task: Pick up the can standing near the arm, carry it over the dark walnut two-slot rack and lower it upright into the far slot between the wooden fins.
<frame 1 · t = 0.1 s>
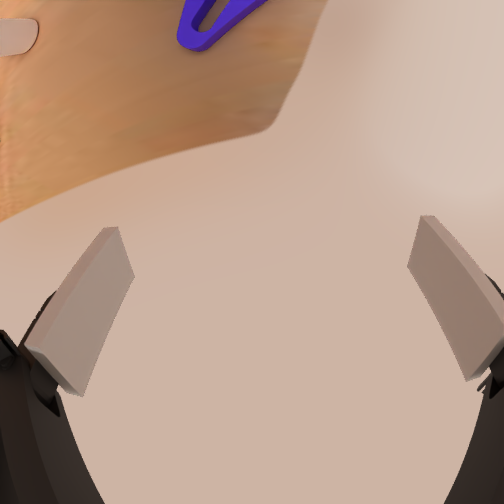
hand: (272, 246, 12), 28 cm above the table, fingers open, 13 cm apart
can: (27, 36, 23), on the table
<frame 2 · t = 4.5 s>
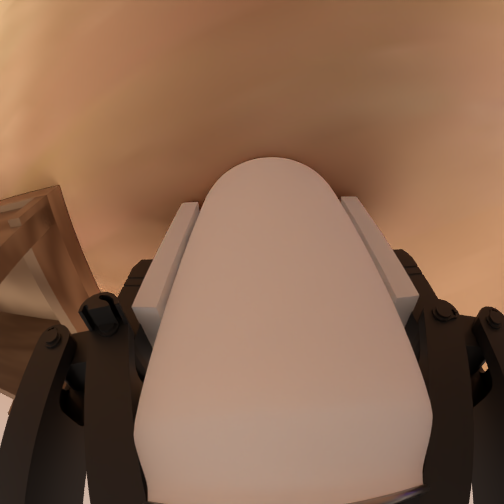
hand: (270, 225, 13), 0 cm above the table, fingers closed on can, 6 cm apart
rack: (39, 311, 18), on the table
can: (270, 218, 14), on the table, touching gripper
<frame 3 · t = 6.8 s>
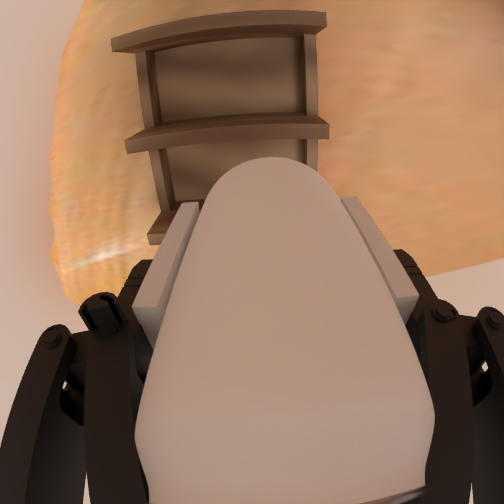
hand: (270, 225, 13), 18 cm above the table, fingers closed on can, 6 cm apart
rack: (232, 118, 27), on the table
can: (271, 218, 14), point 17 cm above the table, touching gripper
when the fingers open (3 cm above the table, at t = 9.5 s): can drops 1 cm, resting on rack.
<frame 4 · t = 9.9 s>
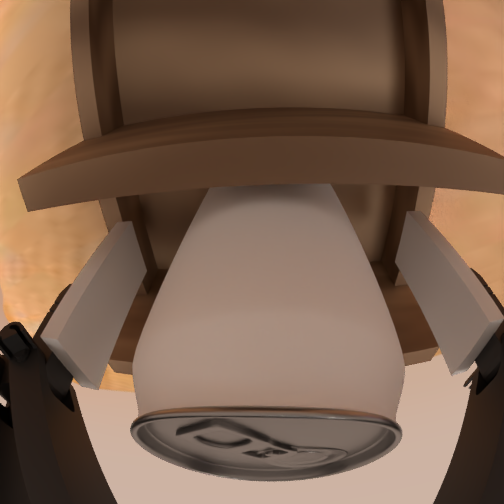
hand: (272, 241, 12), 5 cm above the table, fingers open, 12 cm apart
rack: (265, 116, 13), on the table
can: (271, 205, 15), point 1 cm above the table, touching rack
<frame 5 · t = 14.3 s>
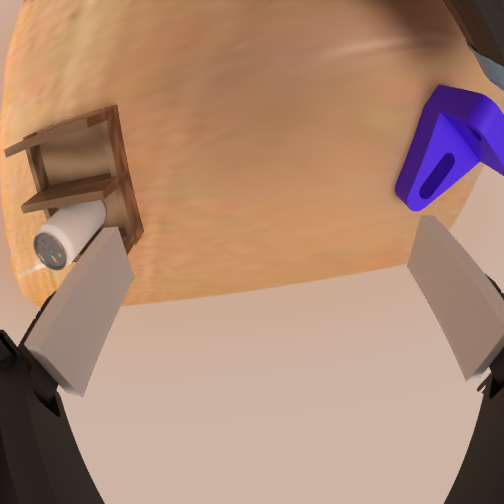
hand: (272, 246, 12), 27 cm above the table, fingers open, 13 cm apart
rack: (85, 179, 37), on the table
can: (90, 207, 39), point 1 cm above the table, touching rack
bracket: (430, 151, 34), on the table
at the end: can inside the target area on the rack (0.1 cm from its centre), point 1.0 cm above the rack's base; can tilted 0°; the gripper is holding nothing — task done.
